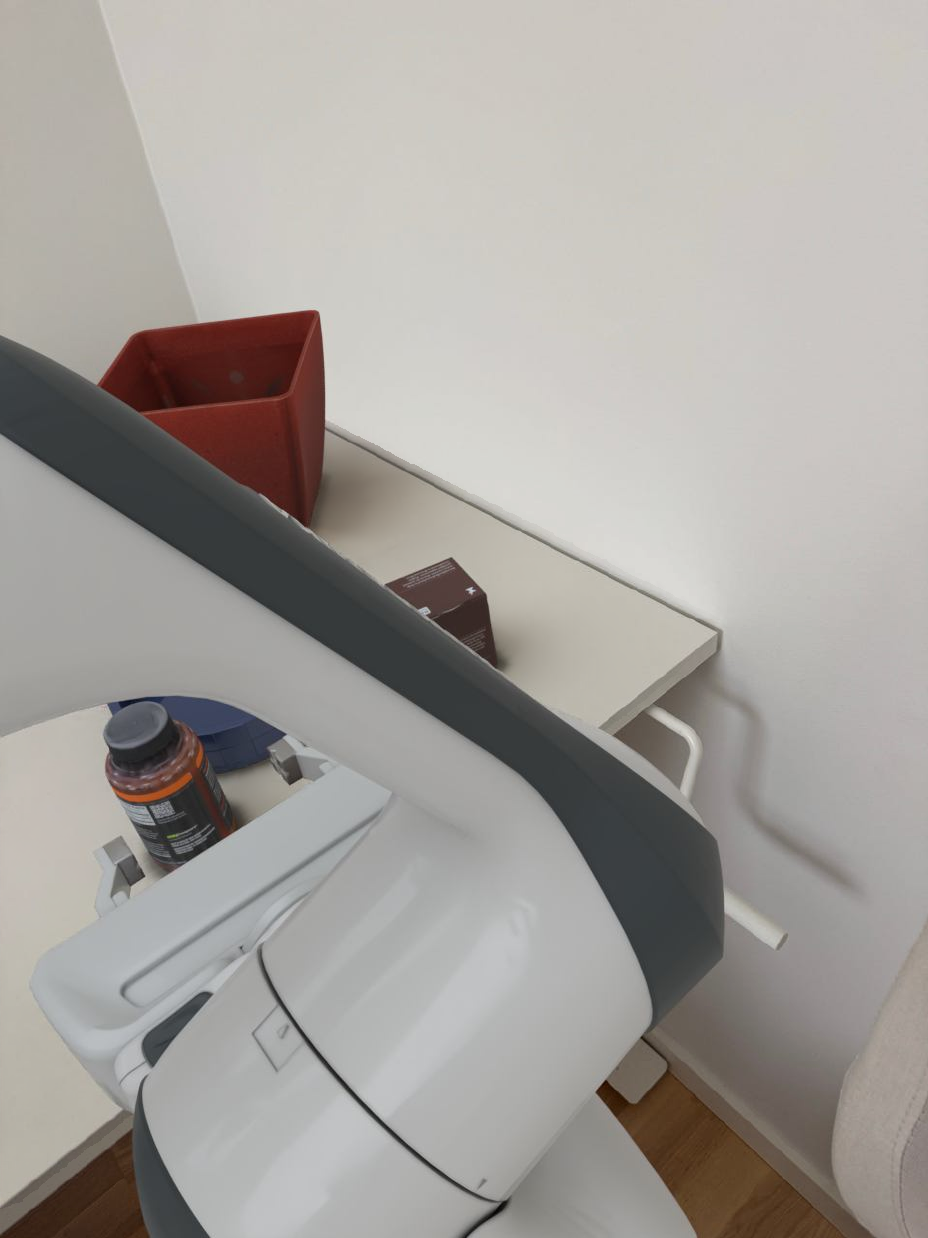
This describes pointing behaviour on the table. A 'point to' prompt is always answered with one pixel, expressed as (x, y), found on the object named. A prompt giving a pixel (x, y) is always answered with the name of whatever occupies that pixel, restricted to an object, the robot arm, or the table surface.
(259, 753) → the bowl
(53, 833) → the table surface
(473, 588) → the box
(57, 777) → the table surface
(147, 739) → the supplement bottle
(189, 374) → the flower pot
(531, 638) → the table surface
